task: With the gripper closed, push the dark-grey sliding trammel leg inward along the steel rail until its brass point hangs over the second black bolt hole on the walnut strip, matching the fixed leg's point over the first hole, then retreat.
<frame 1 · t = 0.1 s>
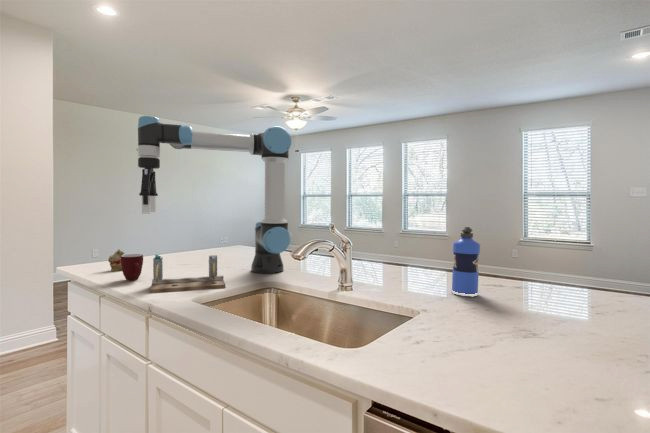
hand: (149, 212, 141), 28 cm above the worktop, fingers open, 13 cm apart
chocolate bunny: (119, 270, 167), on the worktop
mug: (133, 280, 148), on the worktop
water bottle: (464, 294, 135), on the worktop
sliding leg: (157, 268, 135), point 8 cm above the worktop, slide at 0.0 cm
hole strip: (189, 286, 139), on the worktop
fixed leg: (212, 282, 145), resting on hole strip
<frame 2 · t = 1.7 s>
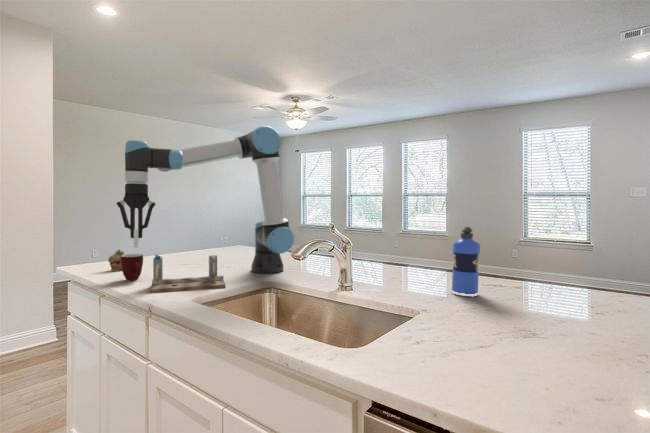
hand: (136, 246, 135), 15 cm above the worktop, fingers closed
nothing on the worktop moved.
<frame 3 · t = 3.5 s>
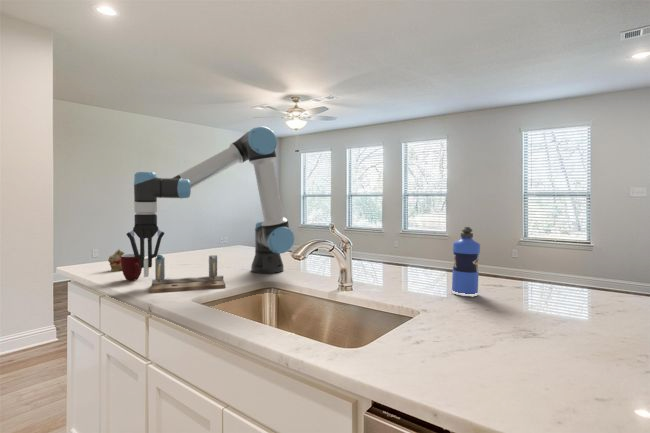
hand: (146, 276, 136), 4 cm above the worktop, fingers closed
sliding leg: (159, 268, 136), point 7 cm above the worktop, slide at 0.7 cm, touching hand
everything else where it was.
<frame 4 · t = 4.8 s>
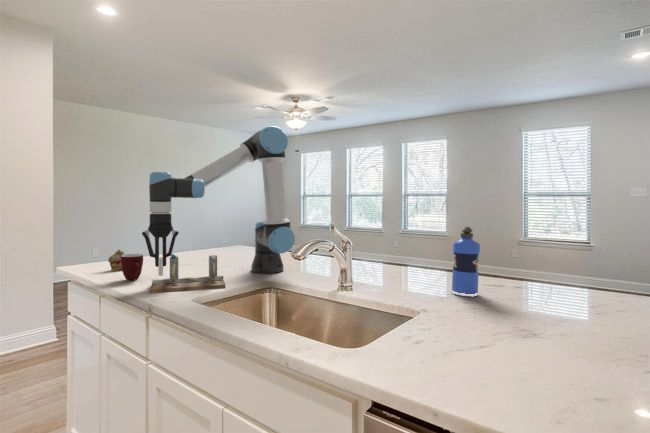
hand: (160, 274, 138), 4 cm above the worktop, fingers closed
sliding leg: (173, 267, 137), point 7 cm above the worktop, slide at 5.7 cm, touching hand
everything else where it was.
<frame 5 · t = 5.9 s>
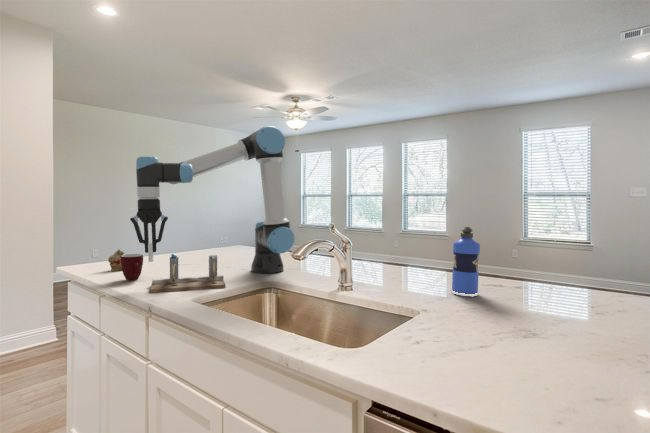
hand: (151, 261, 137), 10 cm above the worktop, fingers closed
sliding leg: (173, 267, 137), point 7 cm above the worktop, slide at 5.7 cm
everything else where it was.
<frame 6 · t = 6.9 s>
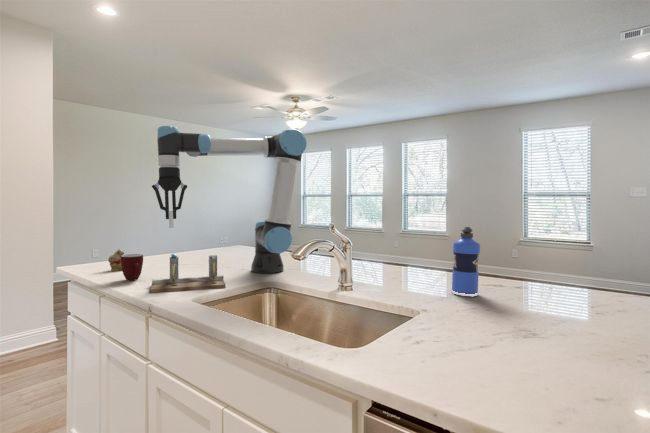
hand: (171, 227, 142), 22 cm above the worktop, fingers closed
nothing on the worktop moved.
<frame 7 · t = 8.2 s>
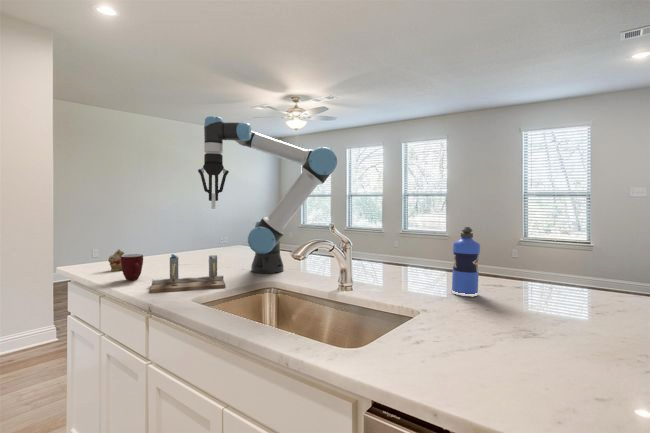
hand: (213, 208, 157), 29 cm above the worktop, fingers closed
nothing on the worktop moved.
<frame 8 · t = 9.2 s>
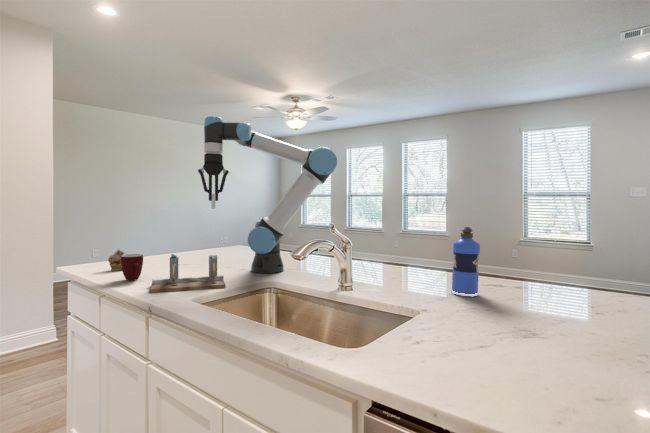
hand: (213, 208, 157), 29 cm above the worktop, fingers closed
nothing on the worktop moved.
at the end: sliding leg slide at 5.7 cm; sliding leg 0.3 cm from the target spot, resting on hole strip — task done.
